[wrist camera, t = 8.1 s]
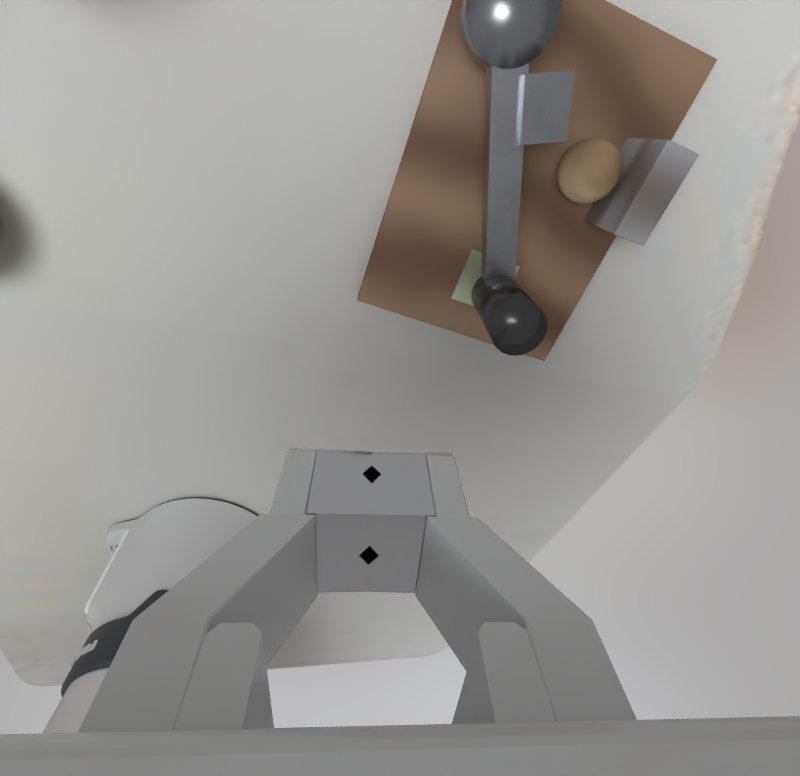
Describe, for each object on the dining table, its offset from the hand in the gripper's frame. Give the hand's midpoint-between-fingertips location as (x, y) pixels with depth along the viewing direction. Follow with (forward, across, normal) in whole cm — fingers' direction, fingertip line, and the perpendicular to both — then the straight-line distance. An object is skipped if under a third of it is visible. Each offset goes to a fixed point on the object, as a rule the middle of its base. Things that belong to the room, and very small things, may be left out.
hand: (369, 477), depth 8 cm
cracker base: (+25, -9, -3) cm, 26 cm away
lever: (+22, -7, -4) cm, 23 cm away
